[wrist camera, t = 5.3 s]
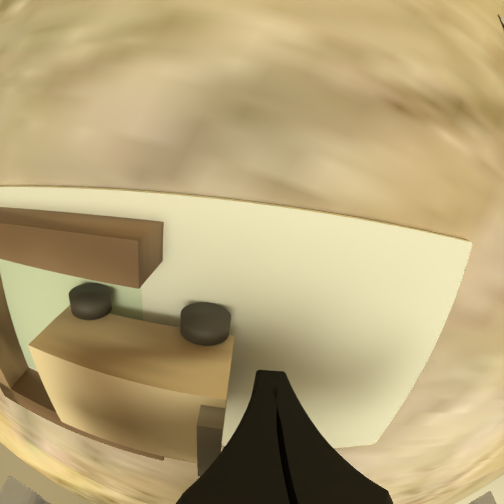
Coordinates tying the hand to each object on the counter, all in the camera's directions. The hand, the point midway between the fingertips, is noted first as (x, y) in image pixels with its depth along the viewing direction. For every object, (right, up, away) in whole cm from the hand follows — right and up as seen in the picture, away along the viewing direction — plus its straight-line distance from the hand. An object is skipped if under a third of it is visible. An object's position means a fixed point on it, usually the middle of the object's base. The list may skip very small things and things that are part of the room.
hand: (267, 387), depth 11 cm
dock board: (-4, +1, +1) cm, 4 cm away
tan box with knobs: (-5, +1, +1) cm, 5 cm away
